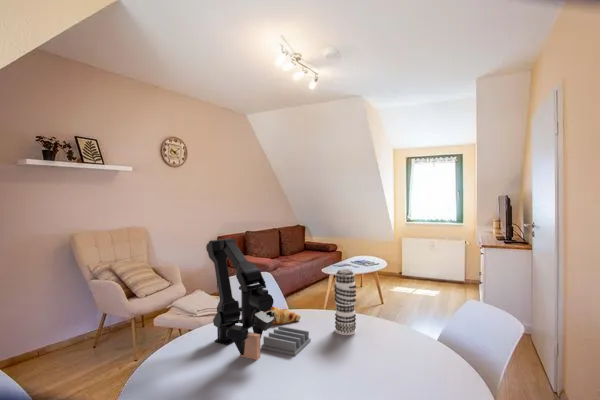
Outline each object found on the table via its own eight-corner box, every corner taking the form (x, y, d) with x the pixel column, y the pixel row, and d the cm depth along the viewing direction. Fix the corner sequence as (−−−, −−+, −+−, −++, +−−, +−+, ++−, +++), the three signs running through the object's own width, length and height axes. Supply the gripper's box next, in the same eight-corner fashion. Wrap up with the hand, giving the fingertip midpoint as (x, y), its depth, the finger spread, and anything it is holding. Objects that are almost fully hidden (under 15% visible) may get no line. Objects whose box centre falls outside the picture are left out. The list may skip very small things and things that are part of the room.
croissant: (300, 326, 149) (299, 308, 153) (301, 323, 140) (301, 304, 144) (253, 326, 148) (254, 308, 152) (251, 324, 139) (252, 304, 143)
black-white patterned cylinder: (353, 325, 140) (352, 267, 140) (359, 334, 131) (359, 272, 131) (332, 327, 139) (331, 268, 139) (337, 336, 129) (337, 273, 129)
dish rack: (261, 348, 120) (261, 337, 120) (279, 334, 131) (278, 324, 131) (295, 355, 113) (295, 344, 113) (310, 341, 125) (310, 330, 125)
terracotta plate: (240, 355, 114) (240, 333, 114) (243, 353, 116) (243, 330, 116) (257, 360, 111) (256, 336, 111) (260, 357, 113) (260, 334, 113)
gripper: (253, 316, 101) (254, 366, 101) (283, 299, 118) (283, 342, 118) (225, 311, 106) (225, 359, 106) (257, 296, 123) (257, 337, 123)
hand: (250, 349), depth 113 cm, fingers open, 9 cm apart
